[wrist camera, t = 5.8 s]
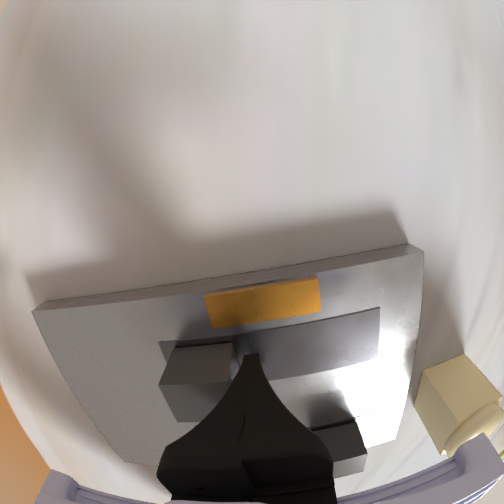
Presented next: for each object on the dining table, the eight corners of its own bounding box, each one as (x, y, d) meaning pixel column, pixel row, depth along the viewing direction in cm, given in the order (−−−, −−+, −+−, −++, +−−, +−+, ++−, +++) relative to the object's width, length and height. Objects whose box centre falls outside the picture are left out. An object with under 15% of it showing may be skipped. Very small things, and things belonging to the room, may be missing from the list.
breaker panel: (389, 425, 17) (395, 440, 16) (129, 449, 19) (124, 463, 17) (409, 243, 13) (426, 252, 12) (44, 301, 14) (29, 313, 13)
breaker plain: (354, 441, 15) (363, 471, 13) (312, 450, 16) (317, 481, 13) (356, 421, 15) (367, 453, 12) (310, 431, 15) (316, 465, 12)
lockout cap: (454, 391, 17) (489, 439, 11) (409, 409, 17) (439, 467, 11) (467, 348, 15) (513, 398, 9) (419, 368, 16) (461, 429, 10)
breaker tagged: (242, 380, 14) (240, 420, 11) (187, 384, 14) (177, 422, 11) (232, 342, 13) (227, 381, 10) (173, 348, 13) (157, 385, 10)
